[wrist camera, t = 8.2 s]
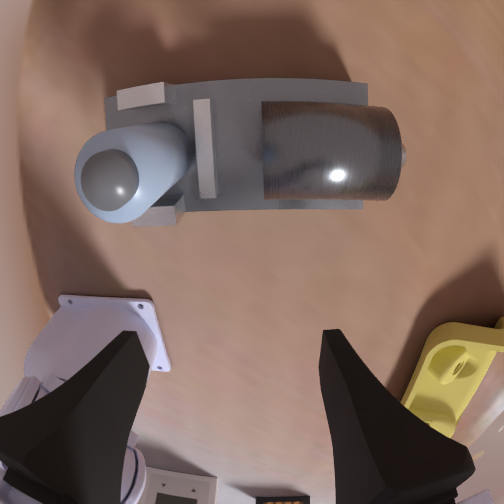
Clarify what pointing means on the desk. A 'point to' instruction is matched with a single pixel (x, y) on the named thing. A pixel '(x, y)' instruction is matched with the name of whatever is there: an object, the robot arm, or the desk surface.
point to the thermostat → (178, 488)
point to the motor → (268, 144)
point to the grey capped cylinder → (130, 169)
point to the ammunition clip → (283, 500)
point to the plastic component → (451, 372)
